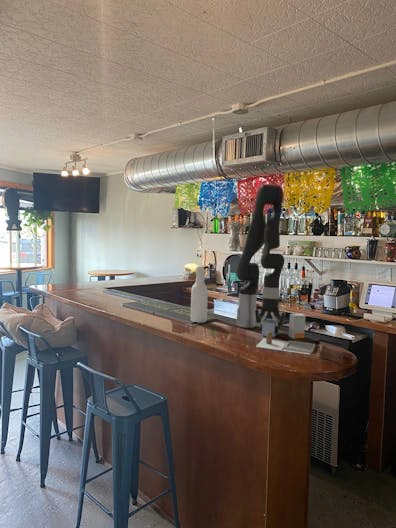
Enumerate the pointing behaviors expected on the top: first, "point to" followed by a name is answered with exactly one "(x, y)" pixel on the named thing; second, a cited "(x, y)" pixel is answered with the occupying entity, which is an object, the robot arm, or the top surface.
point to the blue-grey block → (268, 327)
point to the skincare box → (297, 325)
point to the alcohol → (199, 298)
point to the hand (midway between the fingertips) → (269, 332)
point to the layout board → (286, 345)
